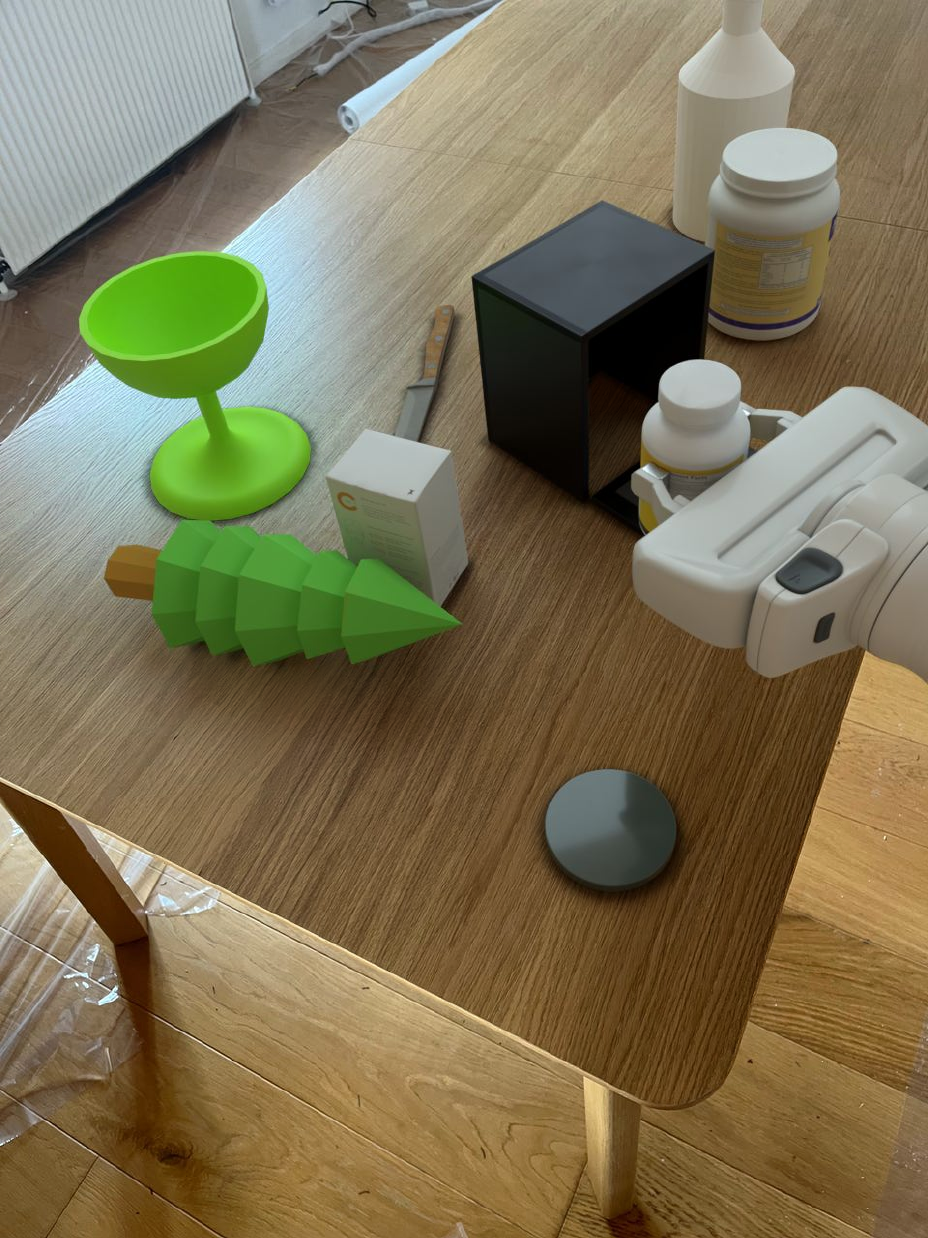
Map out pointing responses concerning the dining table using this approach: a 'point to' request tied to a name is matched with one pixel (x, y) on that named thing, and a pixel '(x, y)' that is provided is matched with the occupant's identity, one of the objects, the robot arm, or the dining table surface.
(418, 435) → the knife
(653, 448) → the pill bottle
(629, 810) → the trivet
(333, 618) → the decorative tree
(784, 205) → the supplement tub
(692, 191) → the bottle
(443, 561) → the small box
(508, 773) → the dining table surface
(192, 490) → the wineglass
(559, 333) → the oven
